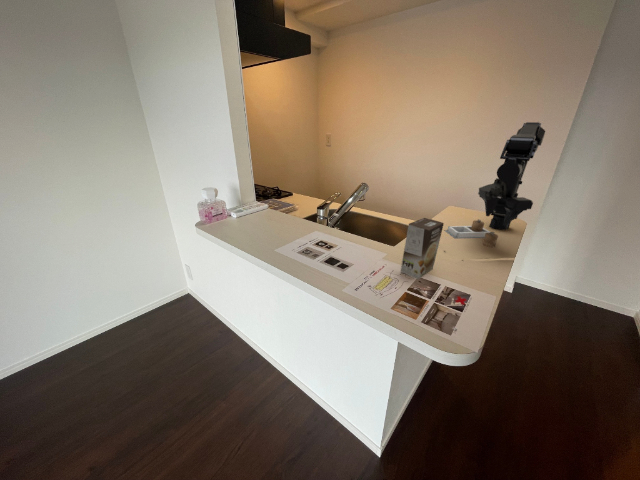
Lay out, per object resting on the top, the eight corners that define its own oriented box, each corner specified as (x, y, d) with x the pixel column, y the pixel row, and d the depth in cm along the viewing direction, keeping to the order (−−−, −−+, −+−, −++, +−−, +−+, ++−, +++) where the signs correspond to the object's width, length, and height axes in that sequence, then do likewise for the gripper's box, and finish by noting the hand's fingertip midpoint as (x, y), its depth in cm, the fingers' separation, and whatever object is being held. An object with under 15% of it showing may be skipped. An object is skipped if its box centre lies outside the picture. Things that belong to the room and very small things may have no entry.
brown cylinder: (489, 244, 99) (494, 230, 96) (496, 249, 95) (501, 234, 92) (479, 244, 98) (483, 230, 96) (486, 249, 95) (491, 234, 92)
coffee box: (418, 280, 76) (428, 230, 69) (399, 271, 80) (407, 223, 73) (433, 269, 81) (444, 222, 75) (415, 262, 86) (423, 216, 79)
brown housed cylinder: (476, 231, 107) (480, 218, 105) (483, 235, 104) (487, 221, 101) (467, 231, 107) (471, 218, 104) (473, 235, 103) (477, 221, 101)
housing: (479, 231, 110) (481, 225, 109) (492, 239, 102) (494, 233, 101) (443, 232, 109) (444, 225, 107) (454, 240, 101) (455, 233, 100)
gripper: (470, 171, 94) (459, 212, 100) (507, 183, 77) (492, 231, 83) (499, 171, 94) (487, 212, 101) (542, 183, 77) (524, 230, 84)
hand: (495, 220), depth 92 cm, fingers open, 9 cm apart
